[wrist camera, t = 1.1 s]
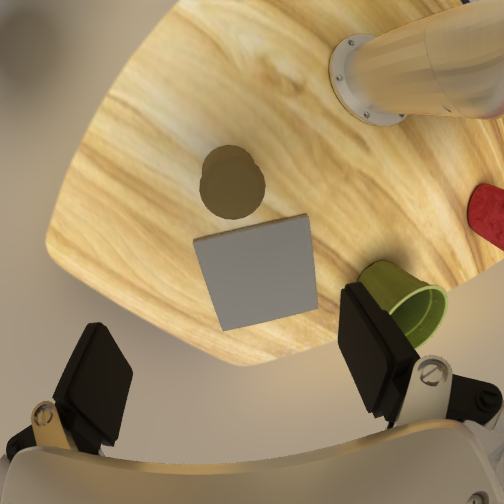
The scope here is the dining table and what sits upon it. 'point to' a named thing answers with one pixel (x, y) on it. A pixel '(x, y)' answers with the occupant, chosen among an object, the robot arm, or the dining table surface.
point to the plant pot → (406, 300)
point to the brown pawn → (231, 183)
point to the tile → (259, 272)
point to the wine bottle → (488, 214)
